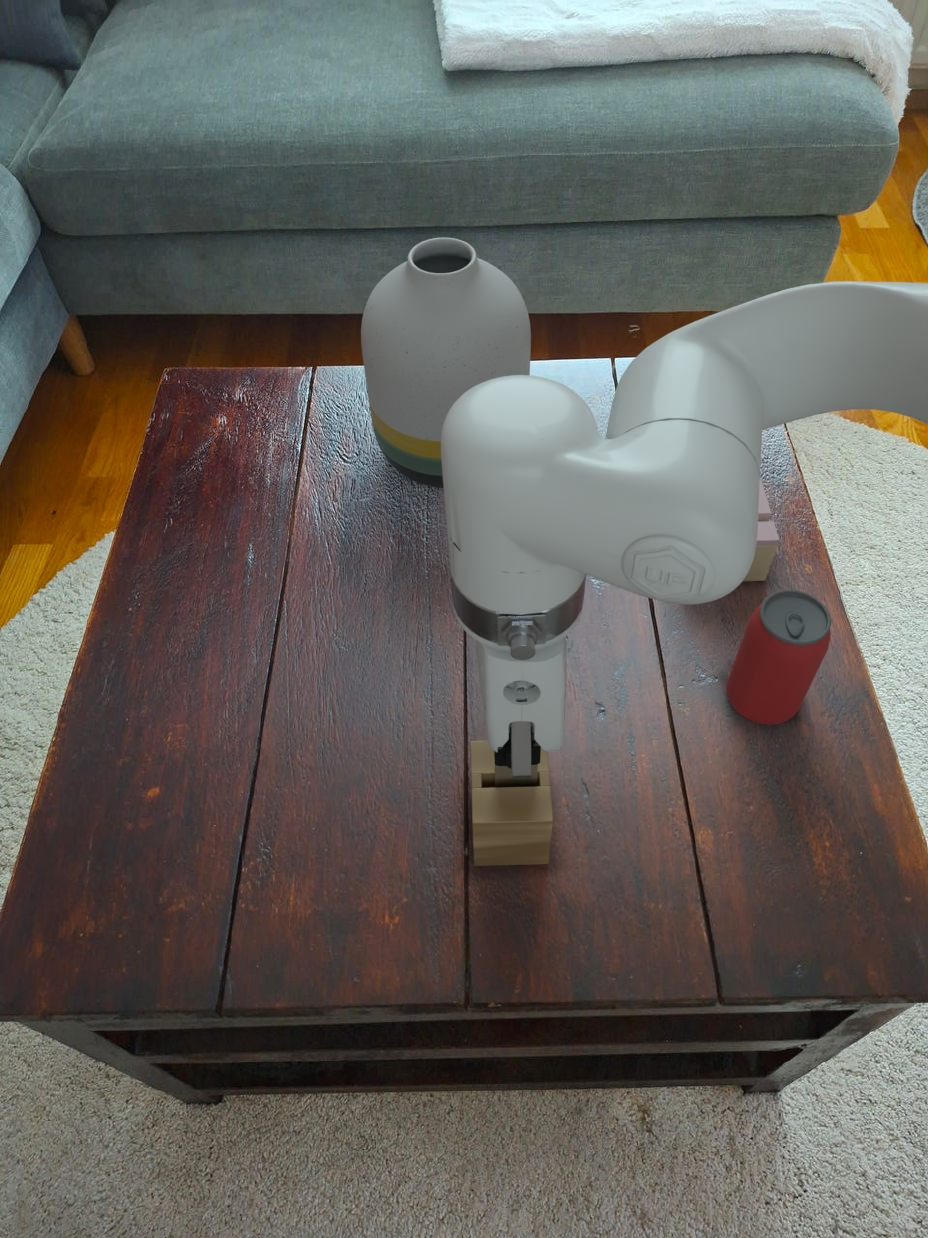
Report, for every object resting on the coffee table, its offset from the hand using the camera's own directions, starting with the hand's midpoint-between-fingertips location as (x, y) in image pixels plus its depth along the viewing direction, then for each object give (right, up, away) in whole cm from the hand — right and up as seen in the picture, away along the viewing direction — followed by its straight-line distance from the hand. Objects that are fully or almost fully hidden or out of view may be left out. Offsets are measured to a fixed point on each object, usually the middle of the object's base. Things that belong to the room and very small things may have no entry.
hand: (516, 746), depth 67 cm
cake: (+21, +18, +30) cm, 41 cm away
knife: (0, -6, +8) cm, 11 cm away
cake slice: (+22, +14, +26) cm, 37 cm away
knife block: (0, -8, +11) cm, 13 cm away
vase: (-5, +28, +38) cm, 48 cm away
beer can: (+23, +2, +18) cm, 29 cm away
